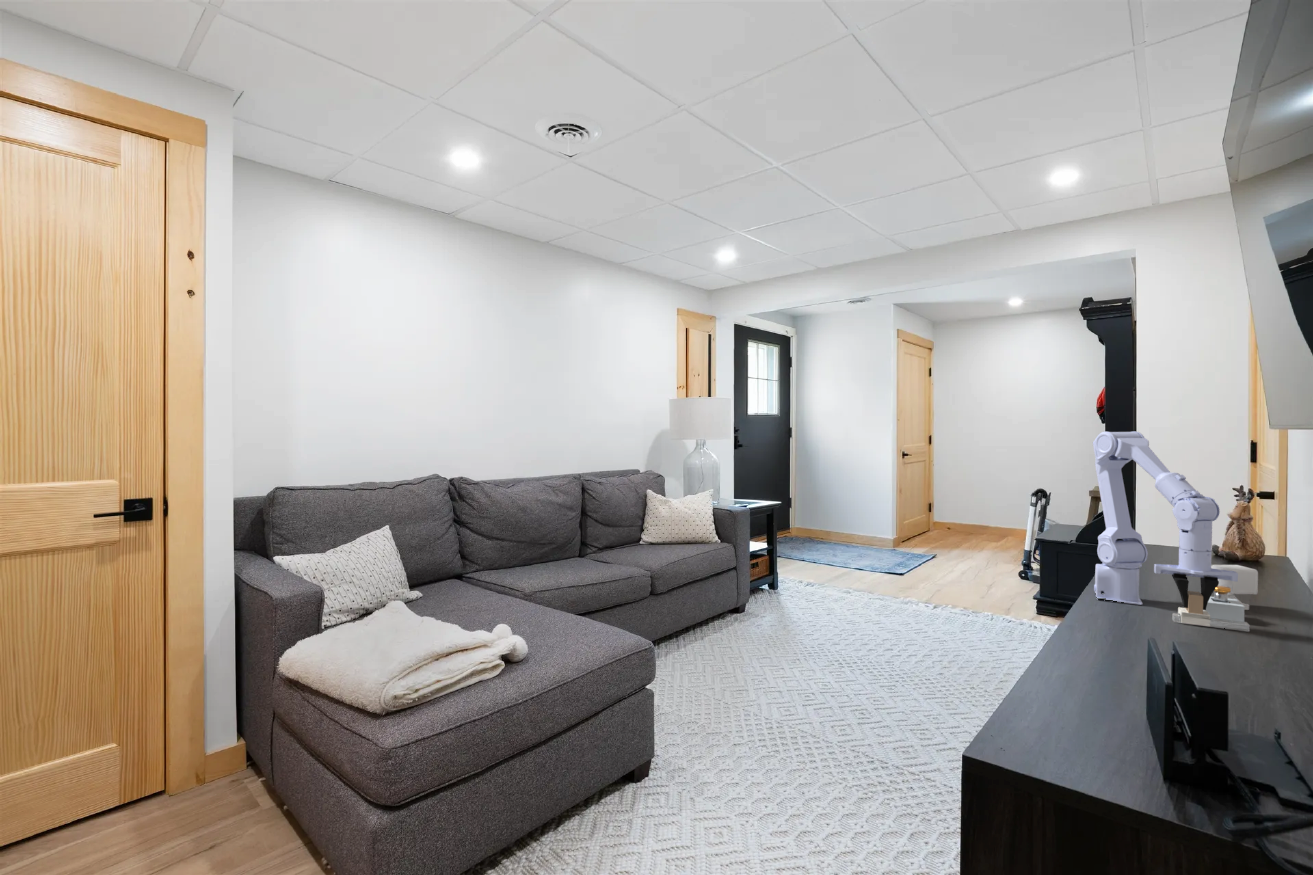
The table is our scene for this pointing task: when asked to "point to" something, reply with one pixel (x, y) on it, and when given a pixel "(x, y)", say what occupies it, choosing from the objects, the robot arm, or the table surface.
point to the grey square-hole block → (1226, 609)
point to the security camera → (1240, 581)
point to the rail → (1220, 623)
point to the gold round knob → (1221, 594)
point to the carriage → (1194, 610)
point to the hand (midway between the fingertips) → (1194, 607)
